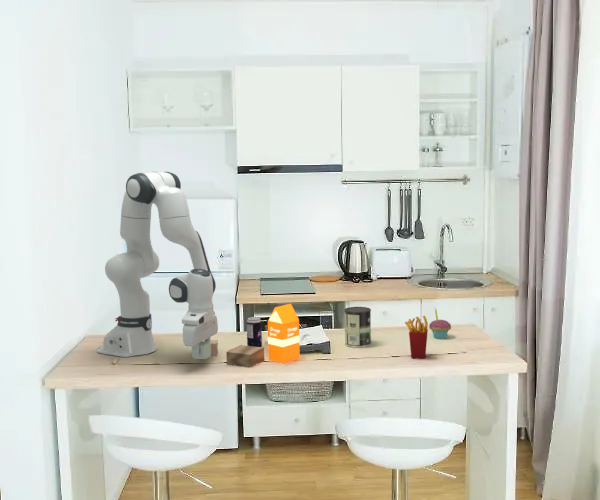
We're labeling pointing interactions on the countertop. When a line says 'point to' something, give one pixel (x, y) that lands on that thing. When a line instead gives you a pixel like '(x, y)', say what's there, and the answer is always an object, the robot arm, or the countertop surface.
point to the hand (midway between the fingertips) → (201, 352)
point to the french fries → (418, 338)
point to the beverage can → (254, 332)
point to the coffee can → (357, 327)
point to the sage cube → (203, 350)
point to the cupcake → (439, 327)
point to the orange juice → (283, 334)
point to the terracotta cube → (214, 347)
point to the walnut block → (245, 356)
